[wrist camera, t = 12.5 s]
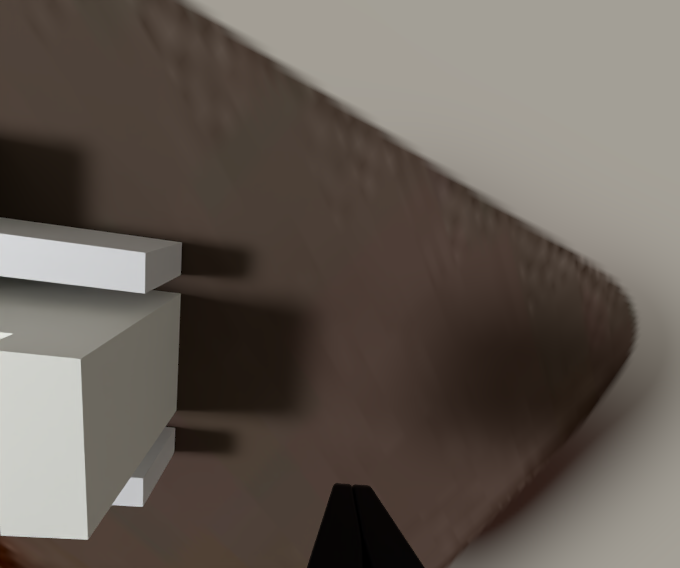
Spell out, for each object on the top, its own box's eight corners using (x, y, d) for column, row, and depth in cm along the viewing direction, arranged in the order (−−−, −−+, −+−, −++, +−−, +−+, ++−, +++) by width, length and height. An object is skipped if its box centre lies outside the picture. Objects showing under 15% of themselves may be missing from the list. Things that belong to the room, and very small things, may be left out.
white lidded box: (177, 408, 13) (87, 539, 8) (19, 394, 13) (-188, 526, 7) (182, 292, 12) (80, 358, 7) (7, 271, 11) (-247, 326, 6)
